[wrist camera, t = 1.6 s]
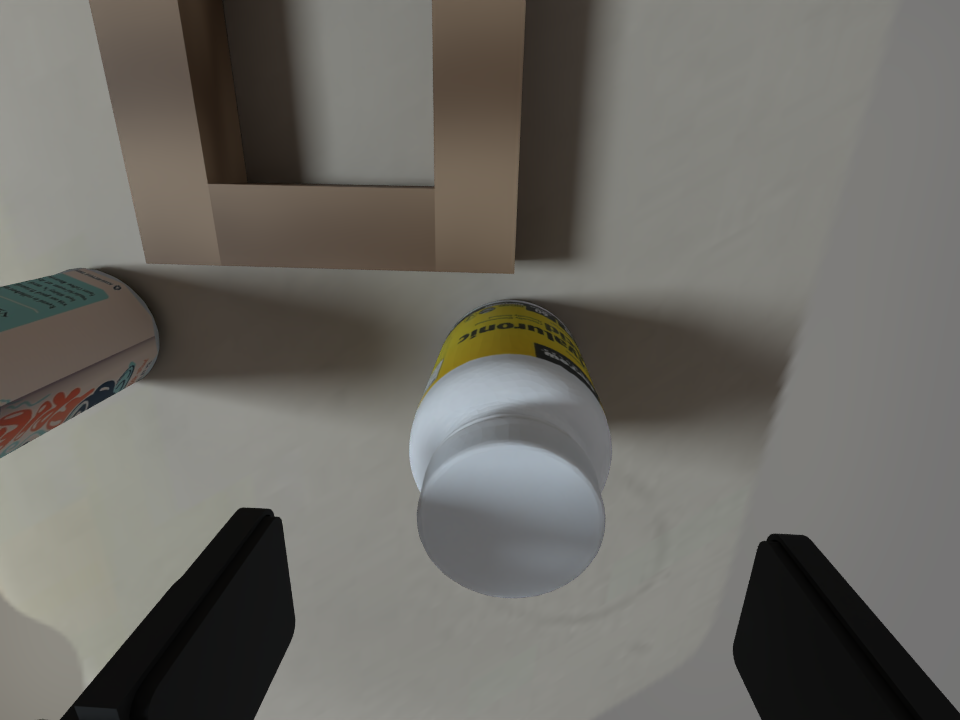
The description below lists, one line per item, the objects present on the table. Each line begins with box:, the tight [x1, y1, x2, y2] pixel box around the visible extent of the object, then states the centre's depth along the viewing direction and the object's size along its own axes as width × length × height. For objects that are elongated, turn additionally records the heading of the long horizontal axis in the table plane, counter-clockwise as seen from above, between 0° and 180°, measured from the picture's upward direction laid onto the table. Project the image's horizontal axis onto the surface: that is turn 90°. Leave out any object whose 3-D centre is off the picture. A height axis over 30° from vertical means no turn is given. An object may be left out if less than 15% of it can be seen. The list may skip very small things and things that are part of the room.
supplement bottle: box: [409, 300, 612, 598], centre depth 15 cm, size 5×5×10 cm
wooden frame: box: [89, 0, 526, 274], centre depth 15 cm, size 12×12×2 cm
